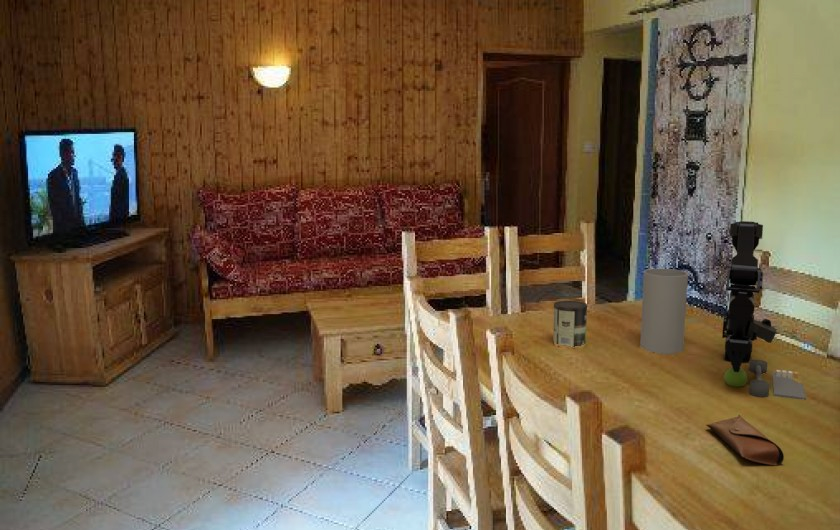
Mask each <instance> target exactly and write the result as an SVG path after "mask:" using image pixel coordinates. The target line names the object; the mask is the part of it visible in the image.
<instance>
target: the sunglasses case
mask: <svg viewBox="0 0 840 530" xmlns="http://www.w3.org/2000/svg"><path fill="white" fill-rule="evenodd" d="M705 426H706V427H707V428H709V429H710V430H712V431H713V432H714V433H715V434H716V435H717V436H718V437H720V439H722V440H723V442H725V443H726V444H727V445H728V447H729V448H731V449H732V450H733V451H734V452H735V453H737V455H739V456H741V458H744V459H745V460H748V461H751V462H755V463H757V464H763V465H770V466H776V467H777V466H779V465H781V464H782V463H783V461H784V458H785V455H784V452H783V450H782V448H781V447H780V446H779V445H778V444H777V443H776V442H774V441H773V440H771V439H769V438H768V437H767V436H765V434H763V433H762V432H761V431H760V430H759V429H758V428H756V427H755V426H753V425H752V424H751V423H750V422H749V421H747V420H745V418H743V417H742V415H740V414H738V416H735V417H732V418H727V419H723V420H719V421H716V422H713V423H706V425H705Z"/></svg>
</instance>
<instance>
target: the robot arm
mask: <svg viewBox="0 0 840 530" xmlns="http://www.w3.org/2000/svg"><path fill="white" fill-rule="evenodd" d="M729 227H730V228H729V238H730V239H731V244H732V246H733V248H734V250H735V252H736V254H735V255H733V257H732V258H731V262H730V264H731V265H728V266H727V276H726V286H725V287H726V288H725V290H726V291H727V292H728V291H730V292H729V302H728V309H727V311H726V316H724V317H723V319H722V320H723V323H722V324H723V325H722V333H721V334H722V337H721V338H722V339H725V341H724V356H723V359H724V360H726V361H727V360H728V361H730V364H731V368H732V367H733V370H734V372H739V369H740V368H741V365H742V363H743V362H744V363H748V362H749V363H750V359H752V352H753V342H754V341H757V339H758V338H759V339H760V340H764V342H765V343H769V344H771V343H772V342H773V340H774V338H775V336H776V334H777V328H775V326H772V321H771V320H770V319H768V318H763V319H762V320H757V319H756V320H755V315H754V312H755V293H757V294H759V293H760V290H763V282H764V281H763V279H764V278H763V277H764V273H763V271H762V267H758V266H759V264H758V263H759V259H757V257H755V255H754V251H755V250H756V249H757V247H758V246H759V244H760V240H762V239H763V230H764V225H763V224H760V223H759V222H756V221H748V220H747V221H746V220H745V221H744V220H743V221H742V220H741V221H735V222H733V223H732V222H731V223H730V226H729Z"/></svg>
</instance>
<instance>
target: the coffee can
mask: <svg viewBox="0 0 840 530" xmlns="http://www.w3.org/2000/svg"><path fill="white" fill-rule="evenodd" d="M587 312H588V303H586V302H583V301H579V300H560V301H555V302H554V303H553V340H552V342H553V341H554V342H555V343H556V344H559V345H564V346H571V347H572V346H573V347H575V346H581V345H584V344H585V343H586V344H587V318H588V313H587Z"/></svg>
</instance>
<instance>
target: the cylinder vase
mask: <svg viewBox="0 0 840 530" xmlns="http://www.w3.org/2000/svg"><path fill="white" fill-rule="evenodd" d="M688 278H689V273H688V272H687V271H683V270H679V269H671V268H649V269H645V270H644V271H643V281H642V283H643V285H642V299H641V300H642V301H641V303H642V304H641V305H642V306H641V319H640V320H641V323H640V324H641V325H640V341H639V347H640V346H641V347H642V348H643V349H645V350H647V351H650V352H655V353H660V354H659V355H665V354H670V355H676V354H675V353H678V352H681V351H682V350H683V351H684V347H685V345H684V341H685V330H686V329H685V327H686V310H687V297H688V296H687V294H688V293H687V292H688V283H689V281H688V280H689V279H688ZM647 351H646V352H647ZM683 351H682V352H683ZM650 352H649V353H650ZM682 352H681V353H682ZM655 353H654V354H655ZM678 354H679V353H678Z"/></svg>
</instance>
